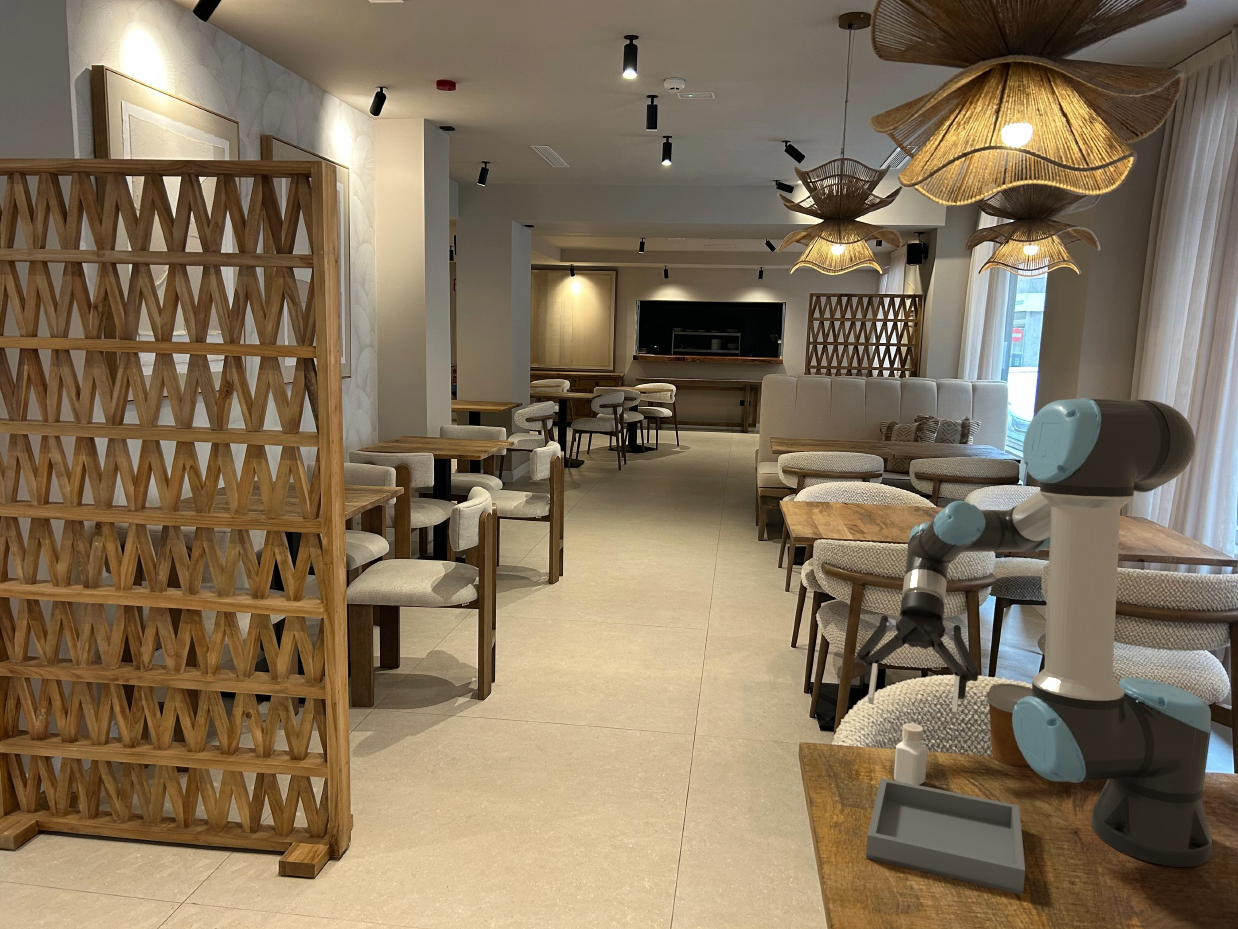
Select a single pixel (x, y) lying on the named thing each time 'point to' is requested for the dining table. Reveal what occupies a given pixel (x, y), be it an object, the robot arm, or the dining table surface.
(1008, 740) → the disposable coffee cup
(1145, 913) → the dining table surface
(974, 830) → the box
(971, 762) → the dining table surface
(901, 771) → the pepper shaker
